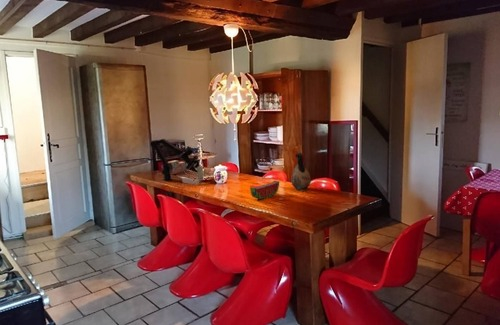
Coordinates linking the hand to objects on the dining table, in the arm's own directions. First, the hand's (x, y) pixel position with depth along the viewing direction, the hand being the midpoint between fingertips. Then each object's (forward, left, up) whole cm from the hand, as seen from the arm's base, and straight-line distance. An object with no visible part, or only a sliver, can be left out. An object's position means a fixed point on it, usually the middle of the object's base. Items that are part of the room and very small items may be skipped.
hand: (199, 171), depth 335 cm
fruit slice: (+84, -8, -9) cm, 85 cm away
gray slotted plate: (+1, 0, -9) cm, 9 cm away
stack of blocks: (-49, +10, -9) cm, 51 cm away
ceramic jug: (+94, +24, -9) cm, 98 cm away
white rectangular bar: (+1, -11, -9) cm, 15 cm away
